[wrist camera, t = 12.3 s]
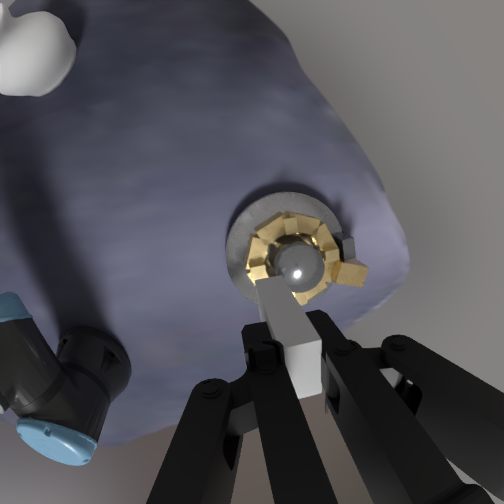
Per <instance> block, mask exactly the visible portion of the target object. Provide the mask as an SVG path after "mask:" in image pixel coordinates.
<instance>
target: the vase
mask: <svg viewBox="0 0 504 504" xmlns="http://www.w3.org/2000/svg"><path fill="white" fill-rule="evenodd" d="M76 52H77V48H76V45H75V43H74V40H72V39H71V37H70V36H69V34H68V32H67V29H66V27H65V25H64V23H63V22H62V20H61V19H60V18H58V17H56V16H54V15H53V14H51V13H49V12H45V11H40V12H33V13H28V14H26V15H23V16H21V17H18V18H14V17H12V16H11V14H10V12H9V9H8V8H7V6H6V5H4V4H2V3H0V93H1V94H4V95H12V96H28V95H30V96H37V97H41V96H43V95H46V94H48V93H51V92H52V91H53V90H54V89H56V88H57V87H58V86H59V85H61V83H62V82H63V81H64V80H65V78H66V77H67V76H68V74H69V73H70V71H71V69H72V67H73V64H74V62H75V60H76Z"/></svg>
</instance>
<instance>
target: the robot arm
mask: <svg viewBox="0 0 504 504" xmlns="http://www.w3.org/2000/svg"><path fill="white" fill-rule="evenodd" d="M255 287H256V294H257V300H258V307H259V314H260V320H261V322H260V323H254V324H249V325H245V326H244V328H243V330H242V332H241V333H242V339H243V344H244V350H245V352H244V354H245V359H246V364H247V370H246V372H245V373H244V375H243V376H242V377H240V378H239V379H237V380H235V381H233V382H230V383H228V382H226V381H224V380H222V379H216V378H214V379H207V380H204V381H201V382H200V383H199V384H197V385H196V386H195V387H194V389H193V390H192V392H191V395H190V397H189V400H188V402H187V405H186V407H185V409H184V412H183V414H182V417H181V419H180V422H179V424H178V426H177V429H176V432H175V434H174V436H173V439H172V441H171V444H170V446H169V448H168V451H167V453H166V456H165V458H164V461H163V463H162V466H161V468H160V470H159V473H158V475H157V478H156V480H155V483H154V485H153V488H152V490H151V493H150V495H149V498H148V500H147V502H146V504H230V503H231V498H232V493H233V488H234V483H235V478H236V473H237V467H238V462H239V458H240V452H241V447H242V442H243V434H245V433H247V432H249V431H251V430H254V429H256V428H258V427H259V432H260V436H261V441H262V447H263V451H264V456H265V461H266V466H267V471H268V476H269V480H270V485H271V490H272V494H273V498H274V503H275V504H338V502H337V499H336V497H335V494H334V491H333V489H332V486H331V484H330V481H329V479H328V476H327V473H326V471H325V468H324V465H323V463H322V460H321V458H320V455H319V452H318V450H317V447H316V444H315V442H314V439H313V437H312V434H311V431H310V429H309V426H308V424H307V421H306V418H305V415H304V413H303V410H302V407H301V405H300V402H299V399H300V398H304V397H308V396H312V395H316V394H320V393H322V385H323V387H324V389H325V391H326V394H325V413H328V408H329V409H330V411H331V413H332V416H333V418H334V420H335V422H336V424H337V426H338V428H339V430H340V432H341V435H342V437H343V439H344V441H345V443H346V445H347V447H348V450H349V451H350V454H351V456H352V458H353V460H354V462H355V464H356V466H357V469H358V471H359V473H360V475H361V477H362V479H363V482H364V484H365V486H366V488H367V490H368V492H369V495H370V497H371V499H372V501H373V503H374V504H495V503H494V502H493V501H492V499H491V498H490V496H489V495H488V493H487V492H486V491H485V490H484V489H483V488H482V487H484V488H485V489H486V490H488V491H489V492H490V493H492V494H493V495H494V496H496V497H497V498H499V499H501V500H502V501H504V393H503V392H501V391H499V390H497V389H496V388H494V387H493V386H491V385H489V384H488V383H486V382H484V381H483V380H481V379H479V378H478V377H476V376H474V375H472V374H471V373H469V372H467V371H466V370H464V369H462V368H460V367H459V366H457V365H455V364H454V363H452V362H450V361H449V360H447V359H445V358H444V357H442V356H440V355H439V354H437V353H435V352H434V351H432V350H430V349H429V348H427V347H425V346H423V345H422V344H420V343H418V342H417V341H415V340H413V339H411V338H410V337H407V336H405V335H392V336H389V337H386V338H385V339H384V340H383V342H382V345H381V347H378V348H362V347H361V346H360V345H359V344H358V343H357V342H355V341H352V340H347V339H346V338H345V337H344V335H343V334H342V333H341V331H340V330H339V329H338V327H337V326H336V325H335V323H334V322H333V321H332V320H331V318H330V317H329V315H328V314H327V313H325V312H323V311H321V310H315V311H310V312H306V313H305V312H304V310H303V309H302V307H301V306H300V304H299V302H298V301H297V299H296V298H295V296H294V294H293V293H292V291H291V290H290V288H289V287H288V285H287V283H286V282H285V280H284V279H283V277H282V275H280V276H274V277H269V278H263V279H257V280H255ZM32 318H33V317H32V315H31V314H29V312H28V311H27V309H26V308H25V306H24V304H23V302H22V301H21V299H20V297H19V296H18V295H17V294H15V293H13V292H6V293H3V294H1V295H0V413H1V414H3V413H4V412H5V411H6V410H7V409H8V408H9V407H10V408H11V409H12V410H13V411H14V413H15V414H16V415H17V416H18V417H19V419H18V420H17V425H16V429H17V432H18V433H19V435H20V437H21V438H22V439H23V440H24V441H25V442H26V443H27V444H28V445H29V446H31V447H32V448H33V449H35V450H36V451H38V452H39V453H41V454H43V455H44V456H46V457H48V458H50V459H53V460H55V461H58V462H60V463H64V464H68V465H75V466H76V465H84V464H86V463H88V462H89V461H90V459H91V457H92V454H93V452H94V449H95V448H96V447H97V443H98V440H99V436H100V433H101V430H102V427H103V424H104V421H105V418H106V415H107V412H108V408H109V406H110V403H111V402H112V401H113V400H114V399H115V398H116V397H117V396H118V395H119V394H120V393H121V392H123V391H124V389H125V388H126V386H127V385H128V382H129V379H130V376H131V365H130V362H129V359H128V357H127V355H126V353H125V352H124V350H123V349H122V348H121V347H120V345H119V344H118V343H117V342H116V341H114V340H113V339H112V338H111V337H109V336H108V335H106V334H105V333H103V332H101V331H99V330H96V329H93V328H89V327H76V328H73V329H71V330H69V331H68V332H67V333H66V334H65V335H64V336H63V337H62V339H61V340H60V342H59V344H58V348H57V352H56V355H55V354H54V353H53V351H52V350H51V348H50V347H49V345H48V344H47V342H46V340H45V339H44V337H43V336H42V334H41V332H40V331H39V329H38V327H37V326H36V324H35V322H34V320H33V319H32ZM407 380H410V381H411V382H413V385H412V384H409V383H408V382H407ZM445 457H446V458H447V459H448V460H449V461H451V462H452V463H453V464H454V465H456V466H457V467H458V468H459V469H461V470H462V471H463V472H464V473H466V474H467V475H468V476H469V477H471V478H472V479H473V480H475V481H476V482H477V483H479V484H480V485H481V486H482V487H481V486H479V485H477V484H465V483H463V482H462V480H461V479H460V478H459V477H458V475H457V474H456V472H455V471H454V469H453V468H452V467H451V465H450V464H449V462H448V461H447V460H446V458H445Z"/></svg>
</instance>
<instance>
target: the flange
mask: <svg viewBox="0 0 504 504" xmlns="http://www.w3.org/2000/svg"><path fill="white" fill-rule="evenodd" d="M285 210H287V211H291V212H296V213H300V214H305V215H309V216H313V217H315V218H318V219H320V221H321V222H323V223H325V225H326V226H327V228H328V230H329V232H330V234H331V236H332V237H333V239H334V241H335V243H336V245H337V247H338V249H339V257H340V258H341V259H343V260H344V261H346V260H350V259H353V258H356V255H355V245H354V237H352V236H350V235H348V234H346V233H344V232H342V229H341V226H340V224H339V222H338V220H337V218H336V217H335V215H334V214H333V213H332V211H331V210H330V209H329V208H328V207H327V206H326V205H325V204H323V203H322V202H320V201H319V200H317V199H315V198H313V197H311V196H308V195H305V194H302V193H297V192H289V191H282V192H275V193H271V194H267V195H265V196H262V197H260V198H258V199H256V200H255V201H253V202H252V203H250V204H249V205H248V206H246V207H245V208H244V209H243V210H242V211H241V212H240V214H239V215H238V216H237V218H236V219H235V221H234V222H233V224H232V226H231V228H230V231H229V233H228V237H227V242H226V262H227V268H228V271H229V275H230V277H231V279H232V281H233V283H234V285H235V286H236V288H237V289H238V290H239V291H240V293H241V294H242V295H243V296H245V297H246V298H247V299H248V300H250V301H251V302H253V303H254V304H257V305H258V300H257V294H256V287H255V285H254V283H253V282H252V281H251V279H250V278H249V276H248V275H247V273H246V269H245V264H244V259H245V254H246V250H247V245H248V241H249V236H250V233H255V234H257V233H256V231H255V230H254V227H256V226H257V225H259V224H260V223H262V222H263V221H265V220H266V219H268V218H269V217H271V216H273V215H274V214H276V213H277V212H279V211H280V212H282V213H284V211H285ZM264 264H265V267H266V272H267V273H268V275H269V276H270V277H274V276H280V275H282V277H283V279H284V280H285V282H286V283H287V285H288V287H289V288H290V290H291V291H292V292H295V293H303V292H307V291H309V290H311V289H313V288H314V287H316V286H317V285H318V284H319V282H320V281H321V279H322V277H323V275H324V271H325V263H324V260H323V257H322V256H321V254H320V253H319V252H318V251H317V248H316V246H315V245H314V243H313V241H312V239H311V238H310V236H309V234H306V233H301V232H298V233H294V234H289V235H286V234H283V235H282V236H280V237H279V238H277V239H276V240H274V241H272V242H271V243H269V244H268V249H267V253H266V257H265V261H264ZM333 282H334V281H333V280H332V279H331V282H325V284H326V285H327V287H326V288H325V289H323V290H322V291H320V292H319V293H317V294H316V295H314V296H313V297H311V298H310V299H308V300H307V304H309V303H311V302H313V301H315V300H316V299H318V298H319V297H320V296H322V295H323V294H324V293H325V292H326V291H327V290H328V289H329V288H330V286H331V285H332V284H333ZM307 304H303V305H300V306H301V307H302V306H305V305H307Z"/></svg>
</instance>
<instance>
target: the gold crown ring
mask: <svg viewBox="0 0 504 504" xmlns="http://www.w3.org/2000/svg"><path fill="white" fill-rule="evenodd" d="M254 230H255V231H256V233H257V234H255V233H250V236H249V241H248V245H247V250H246V254H245V259H244V264H245V269H246V273H247V275H248V276H249V278H250V279H251V281H252V282H253V283H254V285H255V280H257V279H263V278H269V277H270V276H269V275H268V273H267V272H266V267H265V264H264V261H265V257H266V253H267V249H268V244H269V243H271V242H272V241H274V240H276V239H277V238H279V237H280V236H282V235H283V234H286V235H289V234H294V233H298V232H301V233H306V234H309V236H310V238H311V239H312V241H313V243H314V245H315V246H316V248H317V251H318V252H319V253H320V254H321V256H322V257H323V260H324V263H325V271H324V275H323V277H322V279H321V281H320V282H319V284H318V285H317V286H316V287H314V288H313V289H311V290H309V291H307V292H303V293H295V292H292V293H293V294H294V296H295V298H296V299H297V301H298V302H299V304H300V305H303V304H307V300H308V299H310V298H311V297H313V296H314V295H316V294H317V293H319V292H320V291H322V290H323V289H325V288H326V287H327V285H326V284H325V282H331V279H332V280H333V281H334V282H335V283H338V284H345V285H351V286H358V287H363V285H364V282H365V278H366V275H367V272H368V269H369V267H367V266H366V265H364V264H363V263H361V262H360V261H358V260H357V259H355V258H353V259H350V260H346V261H344V260H343V259H341V258H340V257H339V249H338V247H337V245H336V243H335V241H334V239H333V237H332V236H331V234H330V232H329V230H328V228H327V226H326V225H325V223H323V222H321V221H320V219H318V218H315V217H313V216H309V215H305V214H300V213H296V212H291V211H287V210H285V211H284V213H282V212H280V211H279V212H277V213H276V214H274V215H273V216H271V217H269V218H268V219H266V220H265V221H263V222H262V223H260V224H259V225H257V226H256V227H254Z"/></svg>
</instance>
